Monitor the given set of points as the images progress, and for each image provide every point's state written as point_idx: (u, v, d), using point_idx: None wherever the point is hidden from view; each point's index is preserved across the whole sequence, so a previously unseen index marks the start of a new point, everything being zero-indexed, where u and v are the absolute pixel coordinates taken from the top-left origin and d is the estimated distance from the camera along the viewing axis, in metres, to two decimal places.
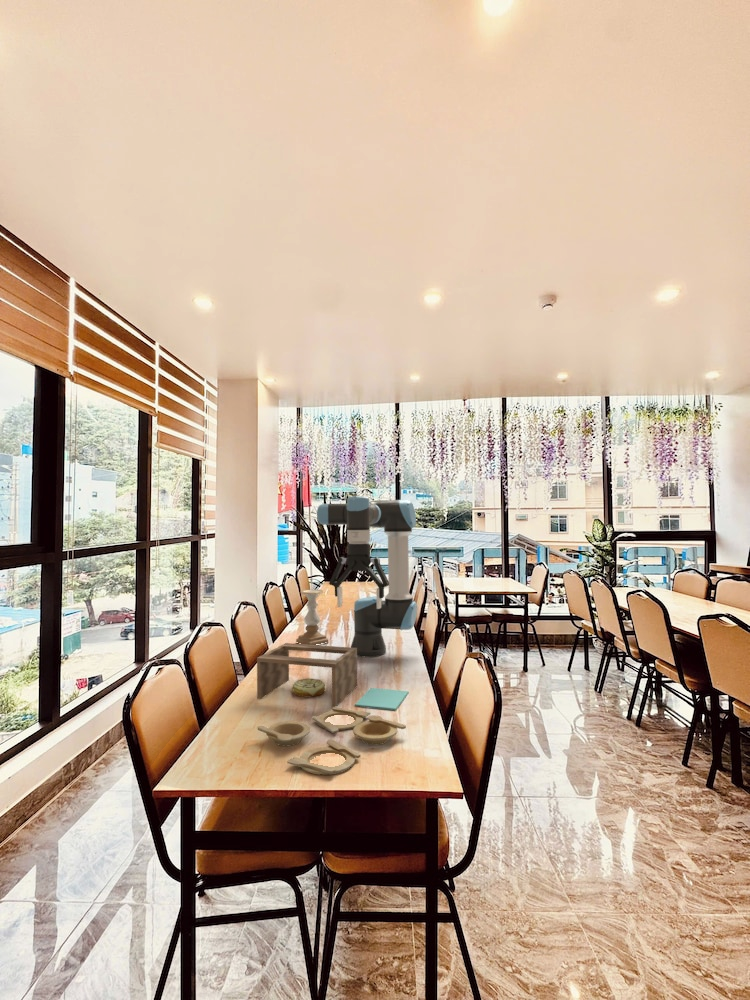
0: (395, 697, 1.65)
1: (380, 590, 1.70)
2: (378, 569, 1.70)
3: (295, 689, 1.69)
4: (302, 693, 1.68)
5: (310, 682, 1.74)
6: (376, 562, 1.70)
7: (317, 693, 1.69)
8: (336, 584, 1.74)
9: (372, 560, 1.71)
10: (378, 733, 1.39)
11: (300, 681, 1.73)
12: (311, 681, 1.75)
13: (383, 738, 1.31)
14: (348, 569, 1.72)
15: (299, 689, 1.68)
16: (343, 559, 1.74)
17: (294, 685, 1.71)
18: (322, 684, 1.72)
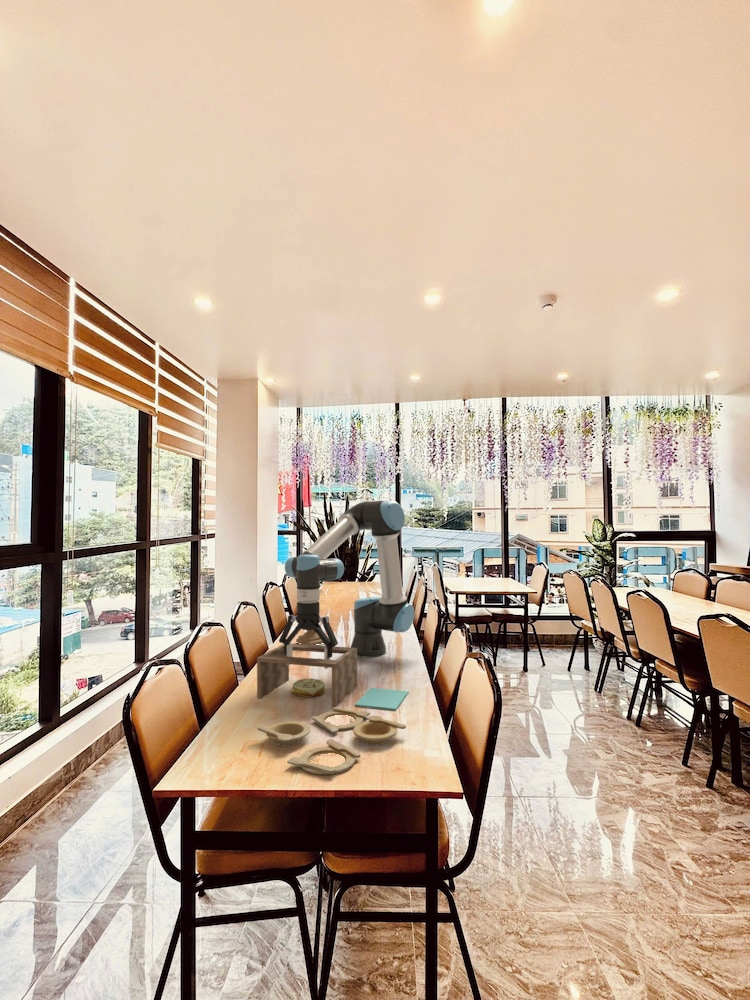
0: (395, 697, 1.65)
1: (328, 649, 1.70)
2: (326, 629, 1.70)
3: (295, 689, 1.69)
4: (302, 693, 1.68)
5: (310, 682, 1.74)
6: (324, 621, 1.70)
7: (317, 693, 1.69)
8: (286, 642, 1.74)
9: (321, 619, 1.72)
10: (378, 733, 1.39)
11: (300, 681, 1.73)
12: (311, 681, 1.75)
13: (383, 738, 1.31)
14: (297, 628, 1.73)
15: (299, 689, 1.68)
16: (293, 617, 1.75)
17: (294, 685, 1.71)
18: (322, 684, 1.72)
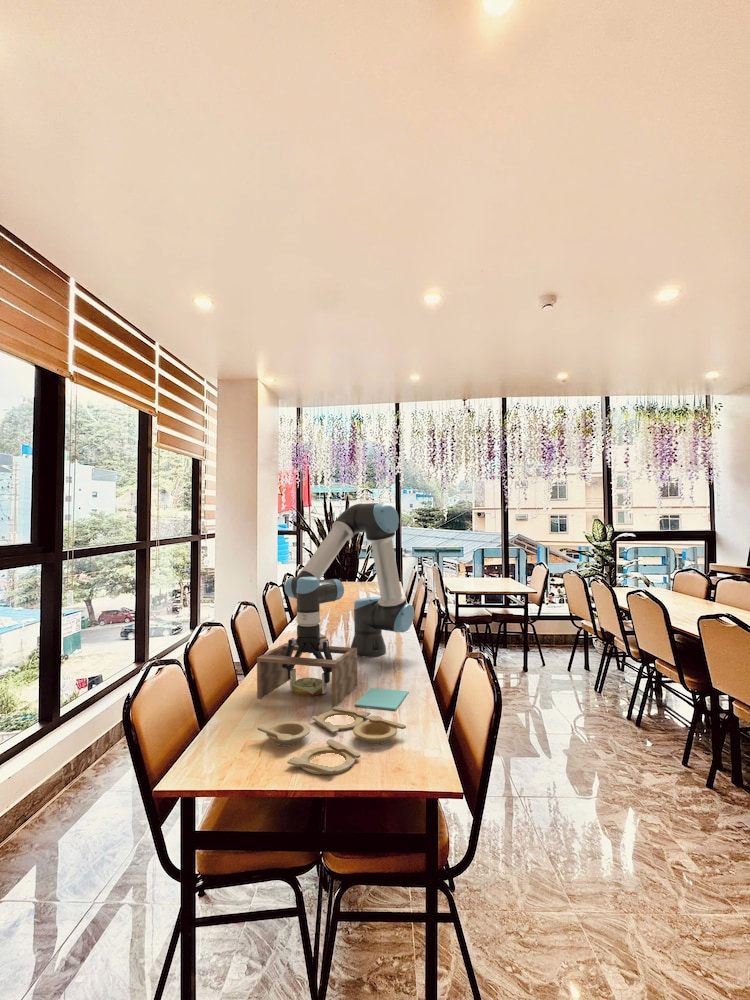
0: (395, 697, 1.65)
1: (326, 675, 1.70)
2: (325, 653, 1.70)
3: (295, 688, 1.70)
4: (302, 692, 1.68)
5: (310, 681, 1.74)
6: (324, 646, 1.70)
7: (317, 692, 1.69)
8: (289, 667, 1.74)
9: (321, 643, 1.71)
10: (378, 733, 1.39)
11: (300, 680, 1.73)
12: (311, 680, 1.75)
13: (383, 738, 1.31)
14: (298, 651, 1.72)
15: (299, 688, 1.68)
16: (293, 641, 1.74)
17: (294, 684, 1.71)
18: None
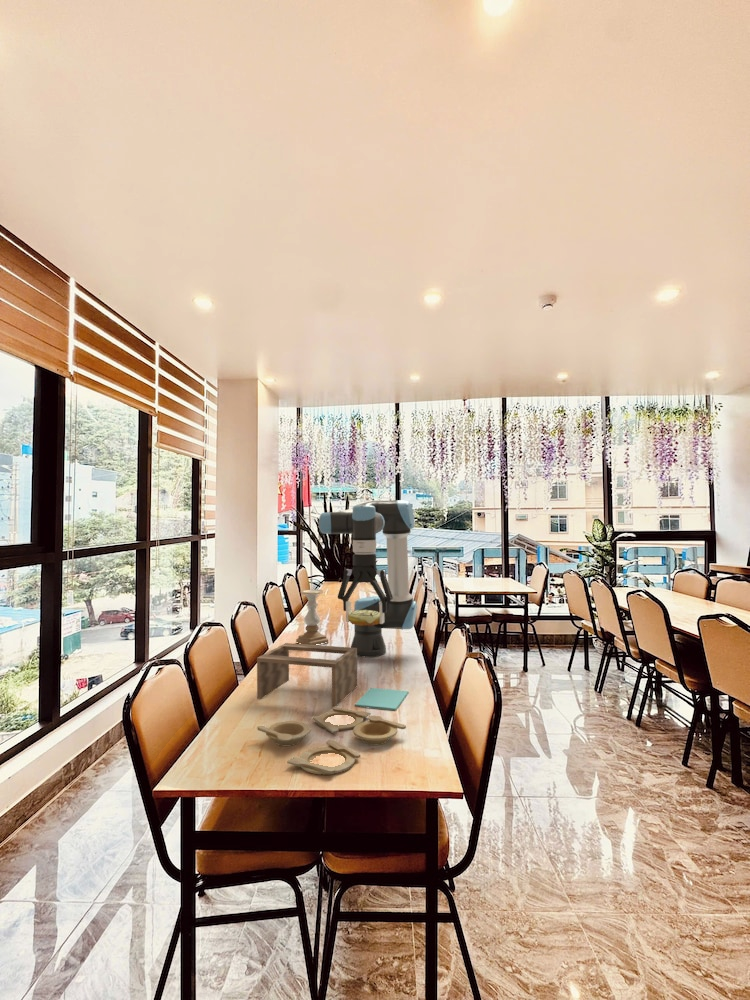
0: (395, 697, 1.65)
1: (383, 604, 1.65)
2: (383, 582, 1.65)
3: (352, 618, 1.64)
4: (360, 622, 1.63)
5: (366, 613, 1.69)
6: (382, 575, 1.65)
7: (374, 622, 1.64)
8: (344, 598, 1.69)
9: (378, 572, 1.66)
10: (378, 733, 1.39)
11: (356, 611, 1.68)
12: (367, 612, 1.69)
13: (383, 738, 1.31)
14: (355, 581, 1.67)
15: (356, 617, 1.63)
16: (349, 571, 1.69)
17: (350, 614, 1.66)
18: (379, 614, 1.66)
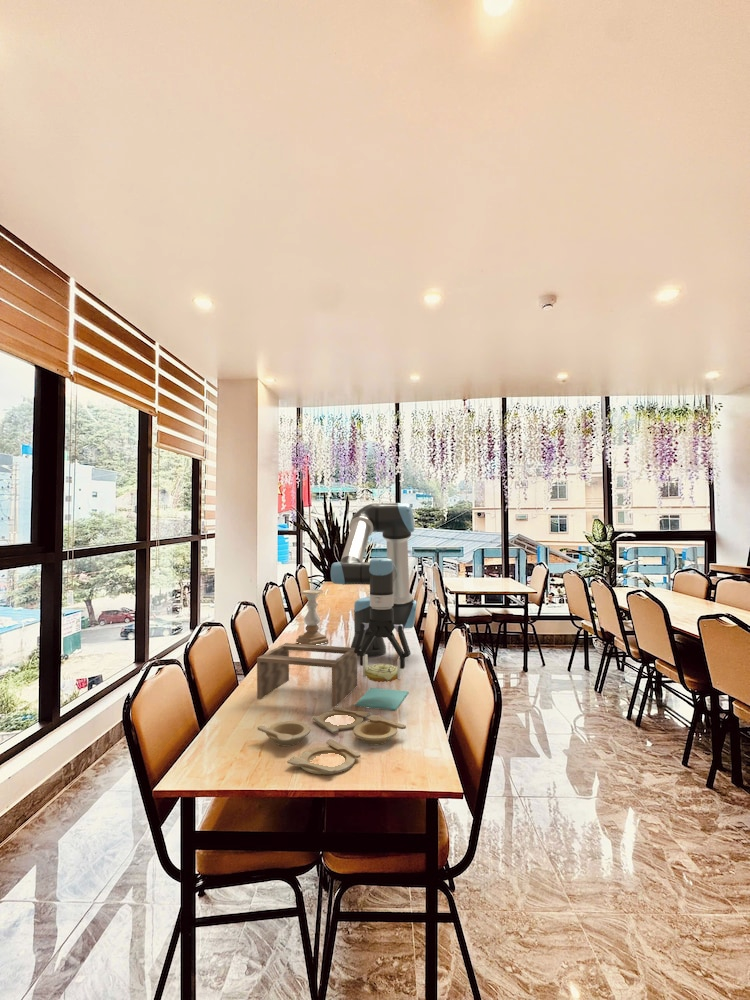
0: (395, 697, 1.65)
1: (401, 660, 1.63)
2: (401, 638, 1.63)
3: (369, 674, 1.62)
4: (378, 678, 1.61)
5: (383, 667, 1.67)
6: (400, 630, 1.63)
7: (393, 678, 1.62)
8: (361, 653, 1.66)
9: (396, 627, 1.64)
10: (378, 733, 1.39)
11: (373, 666, 1.66)
12: (384, 666, 1.67)
13: (383, 738, 1.31)
14: (372, 636, 1.65)
15: (374, 674, 1.61)
16: (365, 625, 1.67)
17: (368, 670, 1.63)
18: (396, 669, 1.64)
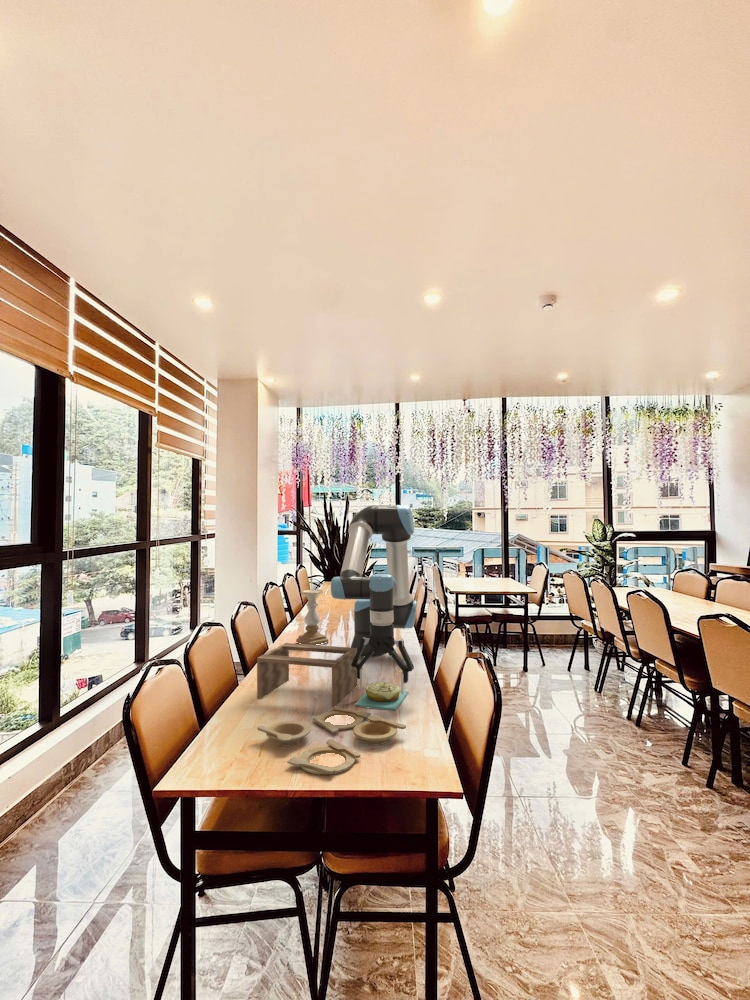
0: None
1: (404, 674, 1.63)
2: (402, 652, 1.63)
3: (370, 693, 1.62)
4: (378, 698, 1.61)
5: (383, 686, 1.67)
6: (400, 645, 1.63)
7: (393, 697, 1.62)
8: (358, 666, 1.67)
9: (396, 642, 1.64)
10: (378, 733, 1.39)
11: (373, 685, 1.66)
12: (384, 685, 1.67)
13: (383, 738, 1.31)
14: (371, 651, 1.65)
15: (374, 693, 1.61)
16: (365, 640, 1.67)
17: (368, 689, 1.63)
18: (397, 688, 1.64)
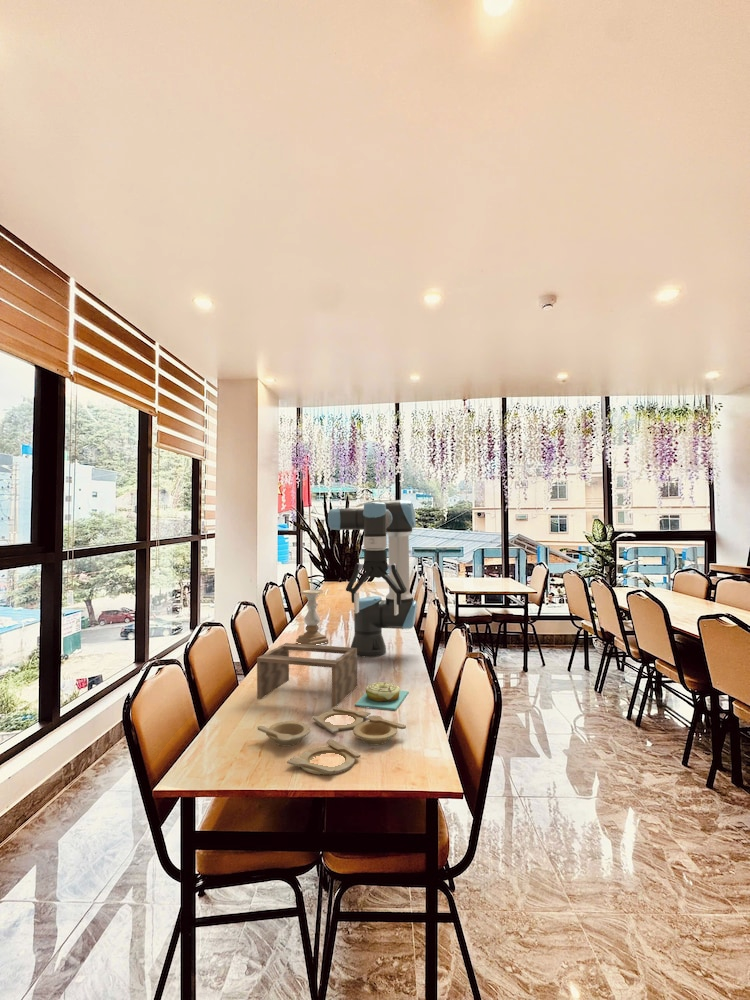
0: None
1: (397, 596, 1.69)
2: (395, 575, 1.69)
3: (370, 693, 1.62)
4: (378, 698, 1.61)
5: (383, 686, 1.67)
6: (393, 568, 1.69)
7: (393, 698, 1.62)
8: (353, 590, 1.73)
9: (389, 566, 1.70)
10: (378, 733, 1.39)
11: (373, 685, 1.66)
12: (384, 685, 1.67)
13: (383, 738, 1.31)
14: (365, 575, 1.71)
15: (374, 693, 1.61)
16: (360, 565, 1.73)
17: (368, 689, 1.63)
18: (397, 688, 1.64)
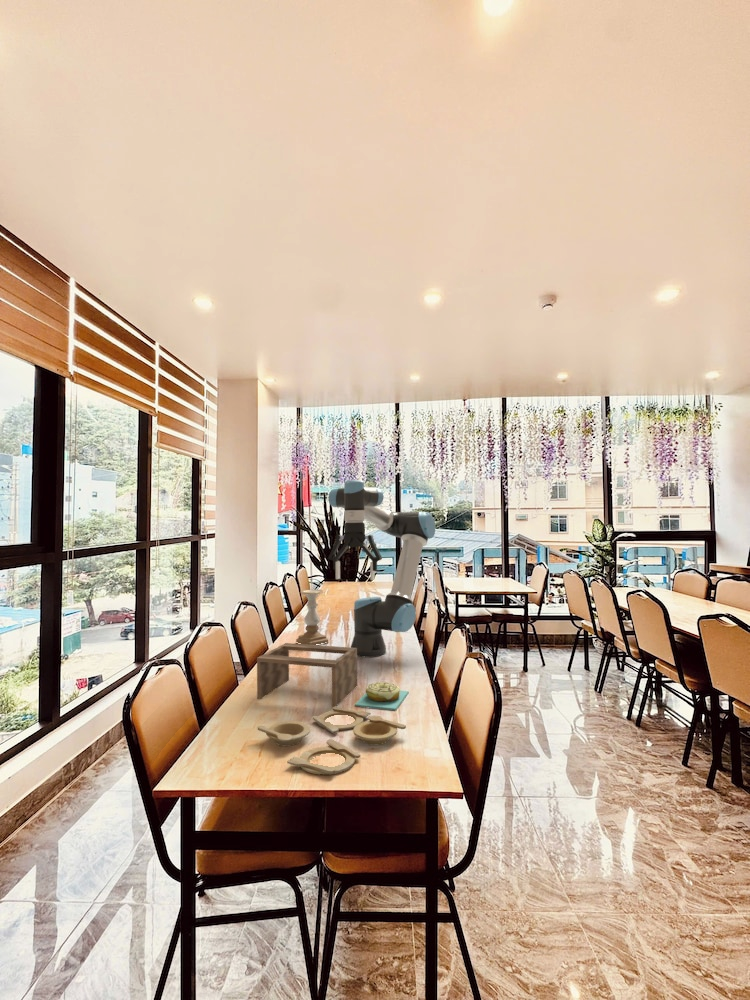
0: None
1: (373, 563, 1.91)
2: (372, 545, 1.90)
3: (370, 693, 1.62)
4: (378, 698, 1.61)
5: (383, 686, 1.67)
6: (370, 539, 1.91)
7: (393, 698, 1.62)
8: (334, 559, 1.95)
9: (366, 537, 1.92)
10: (378, 733, 1.39)
11: (373, 685, 1.66)
12: (384, 685, 1.67)
13: (383, 738, 1.31)
14: (345, 545, 1.93)
15: (374, 693, 1.61)
16: (341, 536, 1.95)
17: (368, 689, 1.63)
18: (397, 688, 1.64)
